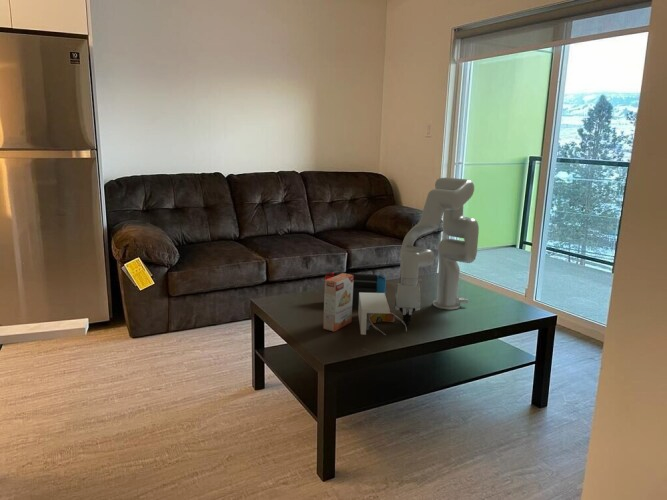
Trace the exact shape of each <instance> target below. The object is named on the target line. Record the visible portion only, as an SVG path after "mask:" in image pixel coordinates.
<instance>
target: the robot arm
mask: <svg viewBox="0 0 667 500" xmlns="http://www.w3.org/2000/svg"><path fill="white" fill-rule="evenodd" d="M474 192H475V184H474V183H473V181H472V180H470V179H465V178H456V177H454V178H453V177H439V178H437V179H436V181H435V183H434V189H432V190H430V191H429V192H428V193H427V196H426V198H425V199H426V200H425V202H424V206H423V210H422V213H421V216H420V219H419V222H418V223H416V224H415V225H414V226H413V227H412V228H411V229H409V230H408V232H407V233H406V234H405V236H404V238H403V241H402V244H401V247H400V248H401V249H400V253H399V258H400V262H399V263H400V266H399V268H400V269H399V282H397V284H396V287H395V295H394V307H393V308H394V310H396V311H400V312H401V314H402V321H403V322H404V323H405V325H410V322H411V319H412V314H413V313H414V312H417V311H420V310H421V286H420V282H422V281H423V279H422V277H419V273H420V272H419V270H420V268H426V267H430V266H431V265H432V264H433V263H434V261H435V253H434V251H432V250H431V249H428V248H423V247H420V246H419V247H418V246H414V243H415V241H417V239H418V238H419V237H421V236H422V235H426V234H427V233H430V232H434V231H437V230H439V228H440V226H441V223H442V232H443V235H445V236H448V237H453V238H444V239H441V240H440V241H439V243H438V244H437V256H438V273H437V284H436V285H437V289H436V299H434V300H433V301H432V305H433V306H434V307H435V308H437V309H442V310H457V309H460V308H461V304H468V303H469V299H468V298H464V297H460V296H459V285H460V284H459V282H460V274H461V272H460V271H461V270H460V266H459V264H458V262H459V263H464V264H471V263H473V262H474V261H475V260H476V257H477V253H478V245H479V244H478V243H479V230H480V227H479V223H478V220H476V218H472V217H469V216H468V217H467V216H464V205H465V204H466V203H467V202H468V201H469V200H470V199H471V198H472V197H473V195H474ZM454 238H459V239H463V240H459V239H454ZM406 309H407V310H406Z"/></svg>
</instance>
